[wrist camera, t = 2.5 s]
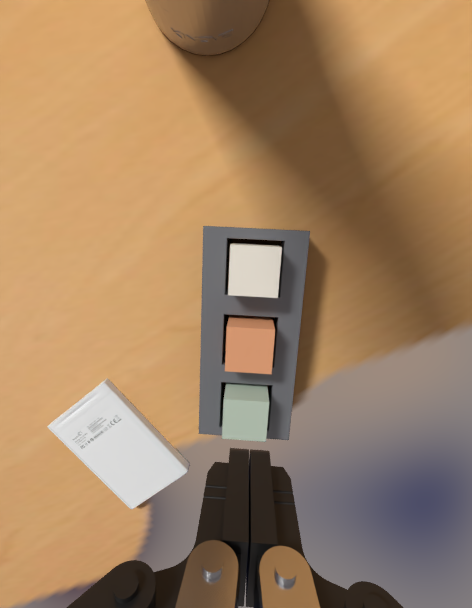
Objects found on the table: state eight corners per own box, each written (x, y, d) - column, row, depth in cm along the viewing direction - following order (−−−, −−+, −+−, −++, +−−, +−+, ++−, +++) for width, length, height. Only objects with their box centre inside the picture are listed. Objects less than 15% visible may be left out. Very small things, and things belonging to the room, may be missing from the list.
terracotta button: (229, 314, 26) (226, 326, 22) (271, 316, 26) (275, 329, 22) (227, 353, 27) (224, 371, 23) (268, 356, 26) (271, 374, 23)
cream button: (232, 242, 24) (230, 244, 21) (277, 245, 24) (282, 247, 21) (230, 286, 25) (227, 295, 22) (274, 289, 25) (277, 298, 22)
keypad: (208, 226, 26) (203, 225, 23) (303, 231, 25) (310, 231, 22) (203, 413, 30) (198, 433, 27) (284, 419, 30) (288, 440, 27)
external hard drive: (135, 498, 33) (54, 419, 31) (191, 460, 32) (110, 375, 30) (129, 511, 32) (44, 428, 30) (188, 472, 30) (102, 383, 28)
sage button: (226, 378, 27) (223, 399, 24) (266, 381, 27) (269, 402, 24) (225, 414, 28) (221, 438, 25) (263, 416, 28) (265, 441, 25)
